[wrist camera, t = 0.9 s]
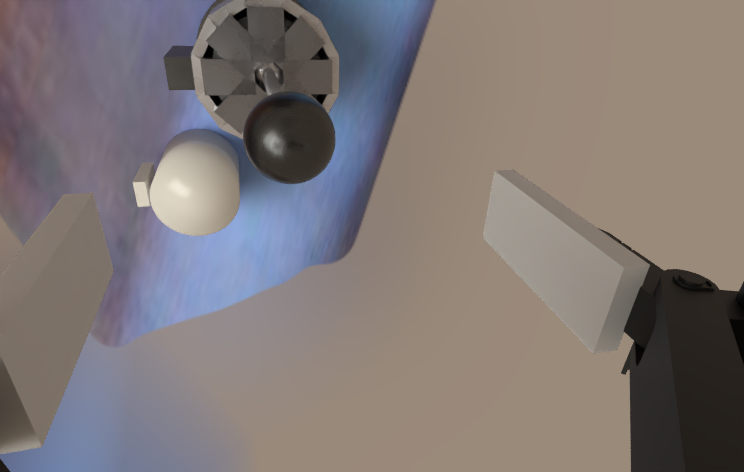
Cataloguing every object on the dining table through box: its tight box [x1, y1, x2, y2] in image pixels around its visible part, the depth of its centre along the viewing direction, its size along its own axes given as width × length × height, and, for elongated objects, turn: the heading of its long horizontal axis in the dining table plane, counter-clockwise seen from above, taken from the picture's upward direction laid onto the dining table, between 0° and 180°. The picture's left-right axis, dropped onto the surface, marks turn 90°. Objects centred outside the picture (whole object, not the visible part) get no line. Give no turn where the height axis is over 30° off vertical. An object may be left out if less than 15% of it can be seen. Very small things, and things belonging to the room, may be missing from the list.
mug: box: [133, 129, 240, 236], centre depth 45 cm, size 8×9×9 cm
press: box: [164, 0, 339, 139], centre depth 41 cm, size 12×14×12 cm
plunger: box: [212, 16, 335, 184], centre depth 29 cm, size 9×9×20 cm
